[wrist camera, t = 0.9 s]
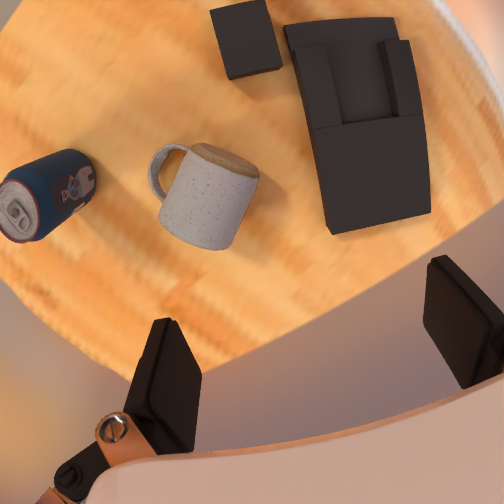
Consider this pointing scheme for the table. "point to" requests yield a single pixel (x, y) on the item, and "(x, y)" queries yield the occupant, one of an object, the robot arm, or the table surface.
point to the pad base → (362, 120)
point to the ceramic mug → (204, 194)
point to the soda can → (44, 194)
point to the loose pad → (246, 39)
